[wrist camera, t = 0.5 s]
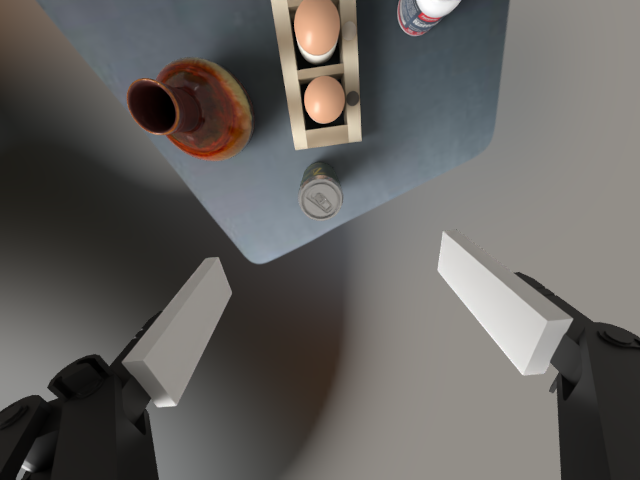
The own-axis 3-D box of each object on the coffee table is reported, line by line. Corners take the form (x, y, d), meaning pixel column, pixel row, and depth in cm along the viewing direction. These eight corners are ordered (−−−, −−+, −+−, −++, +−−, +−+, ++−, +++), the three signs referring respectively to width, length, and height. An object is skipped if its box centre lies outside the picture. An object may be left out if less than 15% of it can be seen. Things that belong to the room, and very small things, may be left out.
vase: (276, 112, 33) (247, 101, 19) (234, 171, 36) (183, 200, 22) (206, 46, 29) (108, -26, 15) (167, 119, 33) (59, 113, 19)
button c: (303, 85, 29) (301, 79, 25) (339, 80, 29) (343, 72, 25) (308, 125, 31) (307, 125, 27) (342, 121, 31) (346, 120, 27)
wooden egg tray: (261, -82, 25) (251, -119, 21) (345, -97, 24) (350, -138, 20) (297, 147, 35) (295, 150, 31) (356, 139, 34) (361, 141, 31)
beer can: (343, 179, 37) (354, 201, 26) (318, 201, 39) (319, 231, 28) (320, 153, 35) (322, 166, 24) (295, 178, 37) (287, 199, 26)
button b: (294, 18, 26) (290, -2, 22) (334, 11, 26) (337, -10, 22) (301, 67, 28) (298, 57, 24) (338, 61, 28) (341, 50, 24)
